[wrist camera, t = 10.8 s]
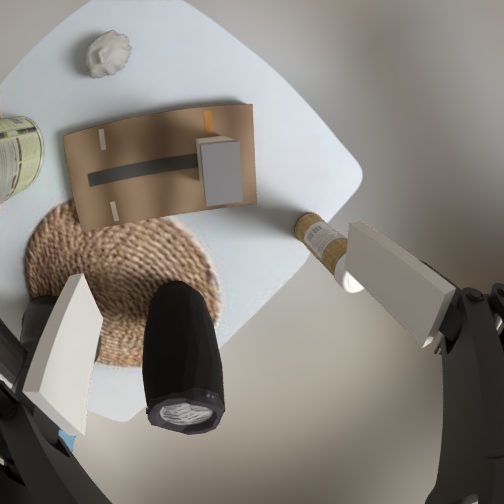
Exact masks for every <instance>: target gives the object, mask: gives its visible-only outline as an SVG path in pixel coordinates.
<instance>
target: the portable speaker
mask: <svg viewBox="0 0 504 504" xmlns="http://www.w3.org/2000/svg"><path fill="white" fill-rule="evenodd" d="M142 374H143V383H144V390H145V396H146V403H147V406H148V410H147V408H146V414H148V420H149V421H150V423H151V425H154V426H158V427H161V428H165V429H168V430H172V431H176V432H181V433H184V434H187V435H192V434H201V433H206V432H208V431H211V430H213V429H215V428H216V427H217V426H218V424H219V423H220V420H221V417H222V415H223V413H224V412H225V403H224V388H223V372H222V363H221V358H220V353H219V349H218V344H217V339H216V334H215V330H214V325H213V322H212V319H211V317H210V314H209V311H208V309H207V306H206V303H205V301H204V298H203V297H202V295H201V294H200V293H199V292H198V291H196V290H195V289H193V288H192V287H190V286H189V285H187V284H186V283H184V282H183V281H170V282H168V283H166V284H164V285H162V286H160V288H159V289H158V291H157V293H156V294H155V295H154V297H153V298H152V300H151V305H150V309H149V313H148V318H147V322H146V327H145V331H144V344H143V364H142Z"/></svg>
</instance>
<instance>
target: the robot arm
mask: <svg viewBox="0 0 504 504" xmlns="http://www.w3.org/2000/svg"><path fill="white" fill-rule="evenodd" d="M344 269H345V270H346V271H347V272H348V273H349V274H350V275H351V276H352V277H353V278H354V279H355V280H356V281H357V282H358V283H359V284H361V285H362V286H363V287H364V288H365V289H366V290H367V291H368V292H369V293H370V294H371V295H372V296H373V297H374V298H375V299H376V300H377V301H378V302H379V303H380V304H381V305H382V306H383V307H384V308H385V309H386V310H387V311H388V312H389V313H390V314H391V315H392V316H393V317H394V319H395V320H396V321H397V322H398V323H399V324H400V325H401V326H402V327H403V328H404V329H405V330H406V331H407V332H408V333H409V334H410V335H411V336H412V337H413V338H414V339H415V340H416V342H417V343H418V344H419V345H420V346H421V347H425V346H426V345H428V344H430V343H431V342H433V341H434V339H435V337H436V335H437V333H438V331H440V332H441V333H442V334H443V335H442V337H441V339H440V341H439V343H438V345H437V347H436V348H435V351H434V354H436V353H437V351H438V350H439V348H441V352H440V353H439V354H441V355H442V366H443V395H444V396H443V400H444V401H443V431H442V443H441V453H440V462H439V468H438V474H437V480H436V484H435V487H434V489H433V490H432V491H431V493H430V494H429V495H428V497H427V499H426V502H425V504H472V503H474V502H476V501H478V504H504V328H503V330H502V332H501V334H500V335H499V334H498V332H497V330H498V328H499V326H500V324H501V322H502V321H503V323H504V284H500V283H495V284H493V286H492V288H491V291H490V293H489V294H484V295H483V294H482V293H481V292H480V291H478V290H477V289H474V288H468V287H467V288H464V289H463V290H461V289H460V288H458V287H457V286H456V285H455V284H453V283H452V282H451V281H449V280H448V279H447V278H445V277H444V276H443V275H442V274H439V272H437V271H436V270H435V269H434V270H433V268H432V267H431V266H429V265H428V264H427V263H425V262H423V261H421V260H418V259H416V258H415V257H414V256H412V255H411V254H410V253H408V252H407V251H405V250H404V249H402V248H401V247H400V246H398V245H397V244H395V243H394V242H392V241H391V240H389V239H388V238H386V237H385V236H383V235H382V234H380V233H378V232H377V231H376V230H374V229H372V228H371V227H369V226H368V225H366V224H365V223H363V222H361V221H358V222H353V223H349V230H348V241H347V250H346V260H345V268H344ZM102 322H103V317H102V315H101V313H100V311H99V309H98V307H97V305H96V302H95V300H94V298H93V296H92V293H91V291H90V289H89V286H88V284H87V281H86V279H85V276H84V274H83V273H80V274H76V275H71V276H69V278H68V280H67V282H66V284H65V286H64V288H63V290H62V292H61V294H60V296H59V297H55V296H40V297H37V298H35V299H34V300H32V301H31V302H30V303H29V305H28V307H27V308H26V310H25V312H24V314H23V318H22V331H21V336H20V342H19V341H18V339H17V338H16V337H15V336H14V335H13V334H12V332H11V331H10V330H9V329H8V328H7V326H6V325H5V324H4V322H3V321H2V320H1V319H0V458H2V459H3V460H4V465H1V464H0V504H112V503H111V502H110V501H109V500H108V498H106V496H105V495H104V494H103V493H102V492H101V490H100V489H99V488H98V487H97V486H96V484H95V483H94V482H93V481H92V480H91V478H90V477H89V476H88V474H87V473H86V472H85V470H84V469H83V468H82V466H81V465H80V464H79V462H78V461H77V459H76V458H75V457H74V455H73V454H72V451H73V444H74V438H75V437H76V436H85V428H86V416H87V407H88V398H89V391H90V384H91V377H92V371H93V365H94V363H95V362H96V360H97V359H98V356H99V352H100V348H101V336H100V331H101V326H102Z"/></svg>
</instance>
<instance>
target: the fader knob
mask: <svg viewBox="0 0 504 504" xmlns="http://www.w3.org/2000/svg"><path fill="white" fill-rule="evenodd" d="M196 147H197V158H198V169H199V179H200V185H201V188H202V192H203V195H204V199H205V202H206V206H214V205H221V204H229V203H237V202H243V191H242V173H241V155H240V141H237V140H234V139H231V138H228V137H225V136H216V137H207V138H198V139H196Z"/></svg>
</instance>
